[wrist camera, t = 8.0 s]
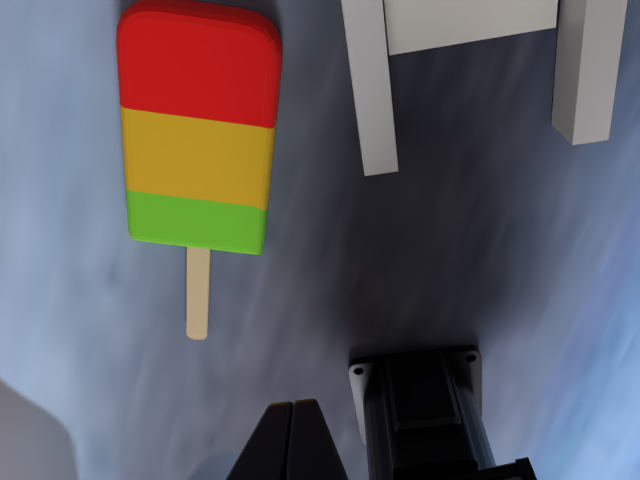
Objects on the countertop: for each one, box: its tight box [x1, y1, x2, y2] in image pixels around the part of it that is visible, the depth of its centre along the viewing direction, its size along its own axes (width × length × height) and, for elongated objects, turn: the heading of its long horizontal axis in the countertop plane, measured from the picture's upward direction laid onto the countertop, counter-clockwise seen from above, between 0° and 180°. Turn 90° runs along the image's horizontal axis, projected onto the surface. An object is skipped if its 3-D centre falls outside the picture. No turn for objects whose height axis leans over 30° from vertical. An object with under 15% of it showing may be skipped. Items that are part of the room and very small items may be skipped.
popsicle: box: [116, 0, 282, 340], centre depth 21 cm, size 6×15×2 cm, turn 172°
